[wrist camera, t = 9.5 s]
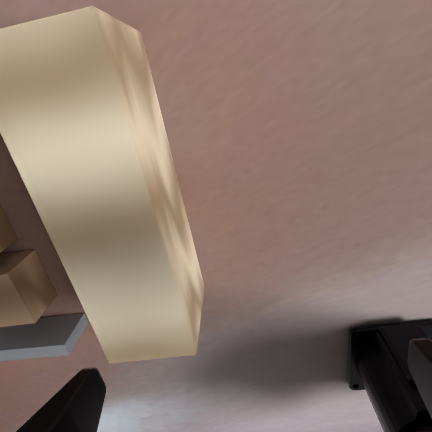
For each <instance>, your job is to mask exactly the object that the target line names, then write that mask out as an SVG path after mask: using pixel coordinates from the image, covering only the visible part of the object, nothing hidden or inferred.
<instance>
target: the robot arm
mask: <svg viewBox="0 0 432 432" xmlns="http://www.w3.org/2000/svg"><path fill="white" fill-rule="evenodd" d="M356 334H357V335H356ZM348 385H349V387H350V389H352V390H364V389H366V392H367V394H368V396H369V399H370V401H371V403H372V405H373V408H374V410H375V412H376V414H377V417H378V419H379V421H380V424H381V426H382V428H383V430H384V432H432V321H422V322H410V323H399V324H388V325H376V326H365V327H355V328H352V329H351V330H350V331H349V350H348ZM105 394H106V386H105V383H104V381H103V379H102V377H101V375H100V373H99V371H98V369H97V368H85V369H82V370H81V371H80V372H78V373H77V374H76V375H75V376H74V377H73V378H72V379H71V380H70V381H69V382H68V383H67V384H66V385H65V386H64V387H63V388H62V389H61V390H59V391H58V392H57V393H56V394H55V395H54V396H53V397H52V398H51V399H50V400H49V401H48V402H47V403H46V404H45V405H44V406H43V407H42V408H40V409H39V410H38V411H37V412H36V413H35V414H34V415H33V416H32V417H31V418H30V419H29V420H28V421H27V422H26V423H25V424H24V425H23V426H22V427H20V428H19V429H18V430H17V431H16V432H97V429H98V424H99V420H100V416H101V412H102V407H103V403H104V399H105Z"/></svg>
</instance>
